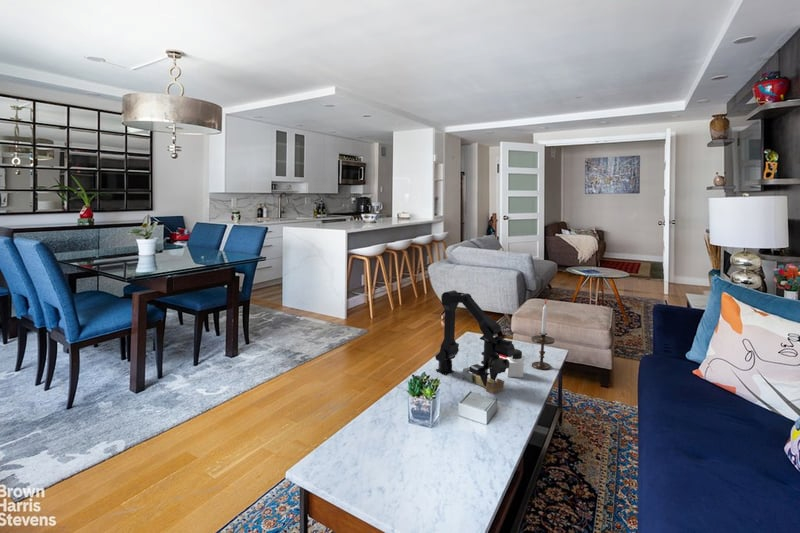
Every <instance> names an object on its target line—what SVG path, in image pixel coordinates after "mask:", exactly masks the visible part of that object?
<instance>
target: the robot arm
mask: <svg viewBox="0 0 800 533" xmlns="http://www.w3.org/2000/svg"><path fill="white" fill-rule="evenodd" d="M440 296H441V298H440V299H441V300H440V301H441V305H442V307H443V309H444V322H443V324H444V326H443V328H444V329H443V330H444V332H443V340H442V342H441V344H440V348H439V352H438V353H436V354H435V355H434V357H435V360H436V361H438V368H436V370H435V371H436V372H438V373H440V374H442V375H445V376H446V375H449V374H453V373H455V370H453V360H452V359H455V358H456V356H457V355H458V353H459V352H460V350H459V345H460V344H459V342H457V341H456V339H455V331H456V327H455V326H456V311H457V308H458V305H459V304H460V303H461V304H462V305H463V306H464V307H465V309H466V310H467V311H468V312H469V313H470V315H471V316H472V317H473V318H474V319H475V320H476V322H477V324H478V327H479V330H480V332H481V333H482V336H481V337H479V340H481V341H483V351H482V352H481V355H482V356H483V358H482V361H481V360H480V364H481V365H480V364H478V363H476V364H472V365H470V366H469V367H470V371H469V372H470V373H474V374H476V375H478V376H480V377H481V380H482V382H483V384H484V386H486V383H487V377H489V376H490V377H489V378H491V379H493V380H495V381H496V380H497V377H498V375H499V374H501V373H506V369H507V368H509V360H508V359H504V358H502V357H500V356H504V357H506V358H507V357H512V356H513V354H514V351H515V349H516V348H515V346H514V345H515V344H513V341H512V340H511V339H510V340H509V339H506V336H505V334H504V333H503V331H502V329H501V326H500V324H499V323H498V322H497V321H496V320H495V319H493V318H492V317H490V316H488V315H487V314H486V313H485V312H484V310H483V309H482V308H481V307H480V306H479V304H478V303H477V302H476V301H475V300H474V299H473V297H472V295H471V294H470V293H467V292H466V293H465V292H461V291H460V292H459V291H457V290H448V291H445V292H443V293H441V295H440Z"/></svg>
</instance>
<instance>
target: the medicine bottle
mask: <svg viewBox="0 0 800 533" xmlns="http://www.w3.org/2000/svg"><path fill="white" fill-rule="evenodd" d="M522 357H523V351H521V350H520V349H519V348H515V351H514V354H513V356H512V357H507V356H506V359H508V360H509V368H507V369H506V371H505V373H506V375H507V377H508V378H524V368H525V366H524V365H525V363H524V361H523V359H522Z"/></svg>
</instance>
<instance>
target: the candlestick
mask: <svg viewBox="0 0 800 533" xmlns="http://www.w3.org/2000/svg"><path fill="white" fill-rule="evenodd" d="M547 301H548V299H547V298H545V300H544V306H543V307H542V316H541V317H542V320H541V321H542V322H541V332H539V334H538V335H533V336H531V341H532V342H533V343H535V344H539V345H540V350H539V352H538V353H539V354H540V355H539V356H538V358H540V359H539V361H533V362H532V363H531V367H532V368H534V369H535V370H539V371H540V370H541V371H548V370H551V369H552V365H551V364H550V363H548V362H545V361H544V359H545V356H544V355H545V354H546V351H545V345H553V344H554V343H555V342H556V341H555V338H554V337H552V336H547V335H548V333H547V331H546V329H547V314H548V313H547V312H548V307H547V305H546V304H547Z"/></svg>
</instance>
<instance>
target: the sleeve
mask: <svg viewBox="0 0 800 533" xmlns="http://www.w3.org/2000/svg"><path fill="white" fill-rule="evenodd" d="M473 374H474V373H472V372H470V366H469V367H465V368H463V369H462V380H465V381H466V382H468V383H471V384H474V382H473Z"/></svg>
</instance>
